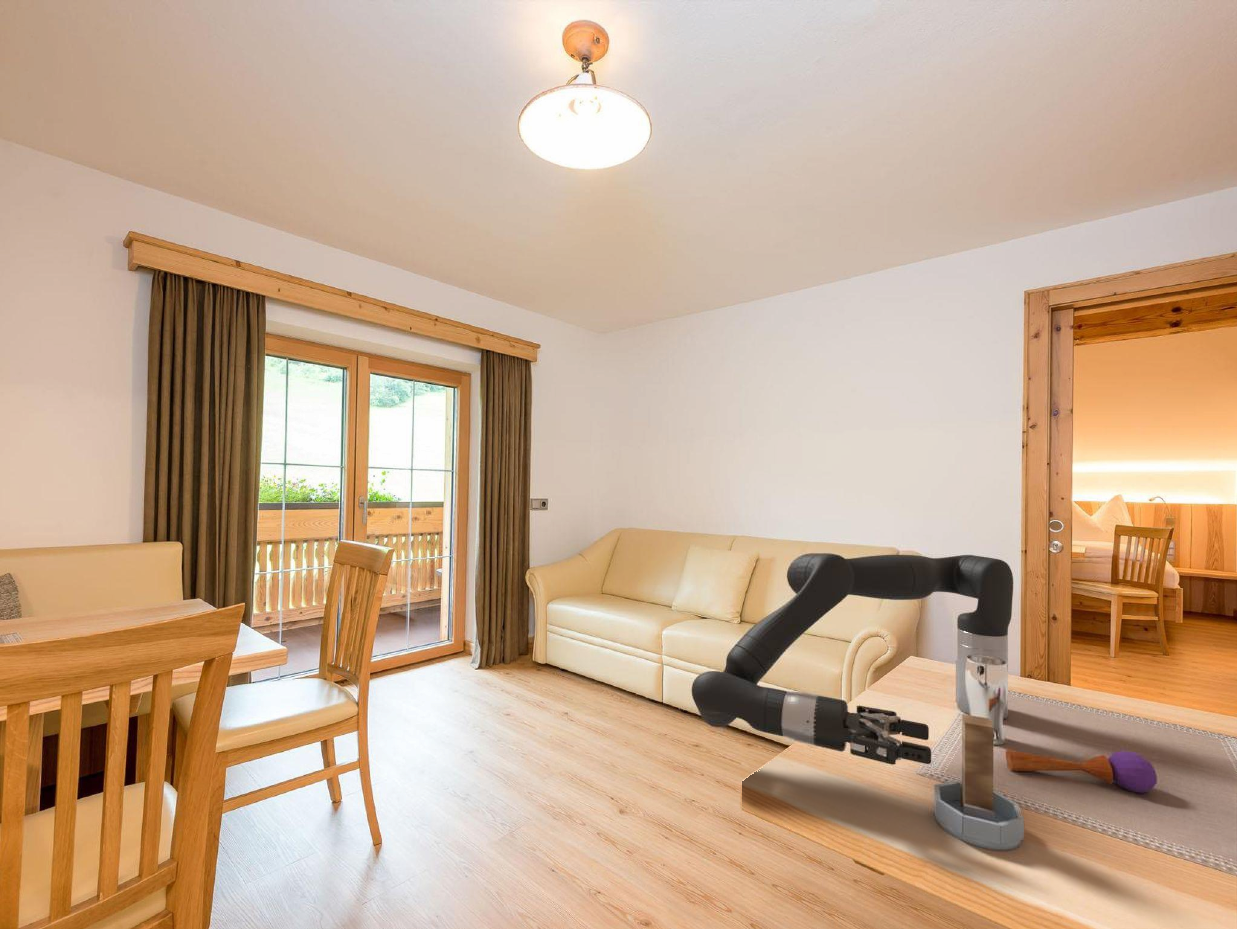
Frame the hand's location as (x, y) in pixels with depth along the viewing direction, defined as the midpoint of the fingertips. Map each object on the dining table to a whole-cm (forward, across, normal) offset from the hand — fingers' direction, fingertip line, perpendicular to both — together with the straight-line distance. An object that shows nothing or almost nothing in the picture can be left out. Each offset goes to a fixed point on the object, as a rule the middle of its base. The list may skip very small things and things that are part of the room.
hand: (929, 743), depth 83 cm
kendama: (+23, +24, +10) cm, 35 cm away
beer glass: (+11, +35, +10) cm, 38 cm away
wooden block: (+6, 0, +9) cm, 11 cm away
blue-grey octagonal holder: (+6, 0, +10) cm, 12 cm away
